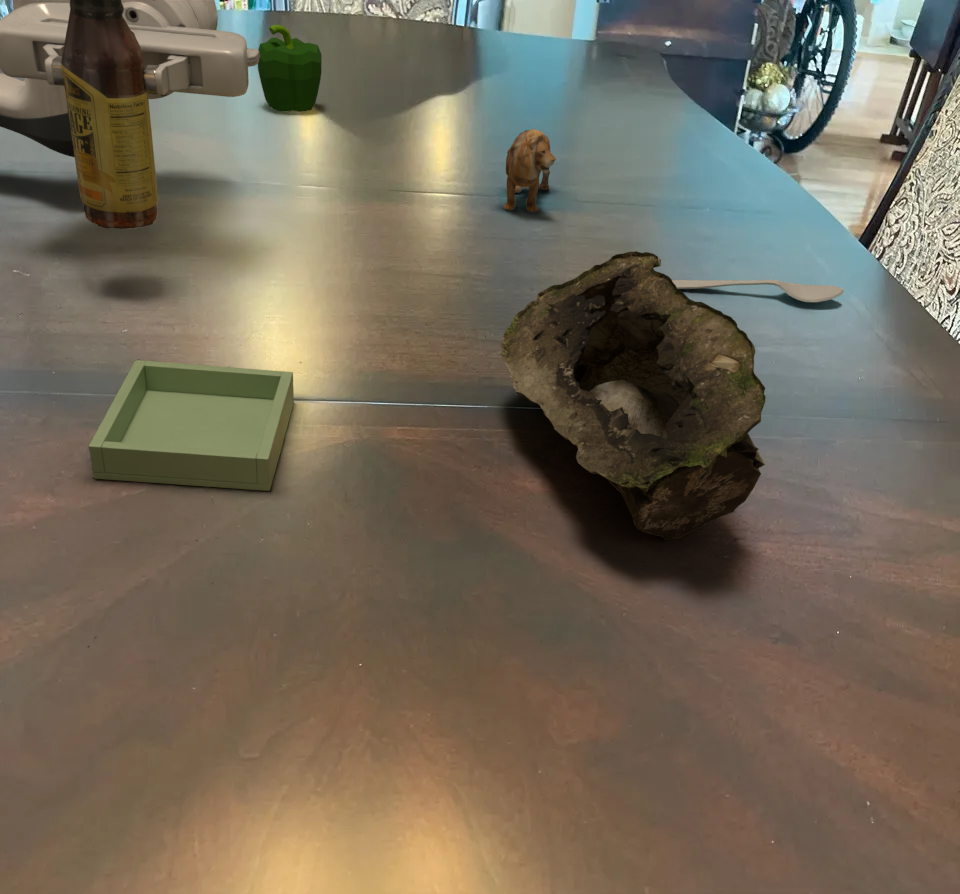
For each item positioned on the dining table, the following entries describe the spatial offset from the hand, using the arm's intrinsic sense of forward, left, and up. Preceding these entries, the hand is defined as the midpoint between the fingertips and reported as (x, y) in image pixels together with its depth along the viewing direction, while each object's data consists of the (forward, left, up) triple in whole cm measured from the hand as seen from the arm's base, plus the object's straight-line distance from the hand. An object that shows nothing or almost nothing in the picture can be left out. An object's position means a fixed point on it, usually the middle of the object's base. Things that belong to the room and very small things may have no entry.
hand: (103, 78), depth 82 cm
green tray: (+11, -25, -17) cm, 32 cm away
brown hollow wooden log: (+41, -25, -17) cm, 51 cm away
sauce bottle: (0, 0, -11) cm, 11 cm away
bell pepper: (+6, +63, -17) cm, 65 cm away
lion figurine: (+37, +33, -17) cm, 52 cm away
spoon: (+57, +11, -17) cm, 60 cm away
